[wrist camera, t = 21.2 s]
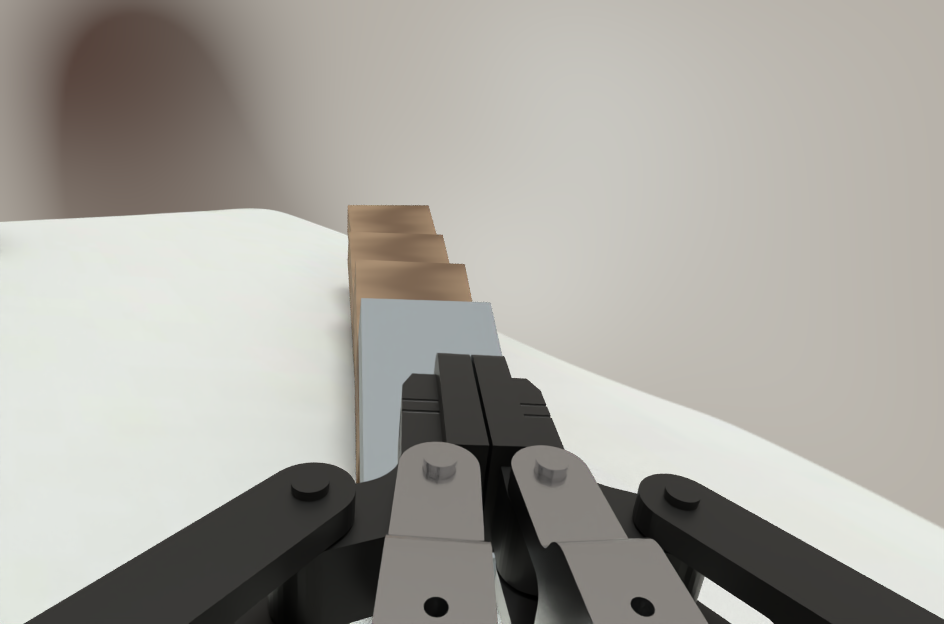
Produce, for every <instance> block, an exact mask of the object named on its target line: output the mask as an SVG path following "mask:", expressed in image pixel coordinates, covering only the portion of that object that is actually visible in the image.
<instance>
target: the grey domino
mask: <svg viewBox="0 0 944 624" xmlns="http://www.w3.org/2000/svg"><path fill="white" fill-rule="evenodd" d="M358 342H359V442H360V483H361V482H366V481H370V480H374V479H377V478H379V477H382V476H383V475H385V474H387V473H389V472H390V471H391V470H393V469H394V468H395V467H396V465H397V464H398V437H399V423H400V410H401V396H402V384H403V383H404V382H405V381H406V380H407V379H408V378H409V376H410V375H411V374H412V373H417V374H434V368H435V359H436V354H437V353H452V354H469V355H470V356H471V355H491V356H502V352H501V348H500V343H499V339H498V334H497V330H496V325H495V321H494V316H493V312H492V308H491V303H490V302H462V301H433V300H403V299H374V298H361V306H360V320H359V333H358ZM492 554H493V568H494V570H495V564H496V560H495V554H494V553H492Z"/></svg>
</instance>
